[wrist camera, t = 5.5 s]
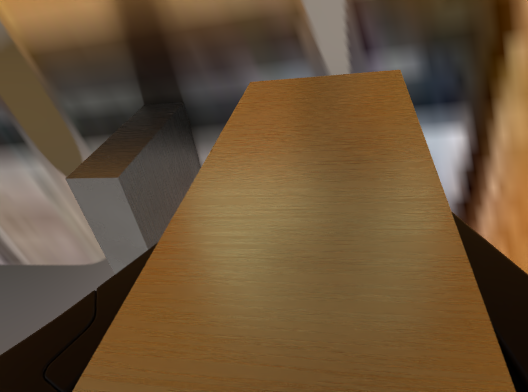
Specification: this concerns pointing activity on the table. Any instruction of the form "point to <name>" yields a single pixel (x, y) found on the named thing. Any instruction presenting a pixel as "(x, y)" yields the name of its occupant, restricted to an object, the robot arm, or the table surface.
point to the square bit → (308, 260)
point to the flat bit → (137, 181)
